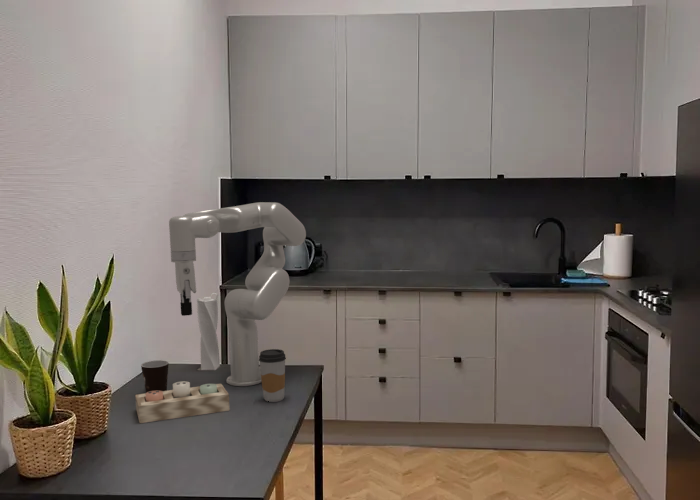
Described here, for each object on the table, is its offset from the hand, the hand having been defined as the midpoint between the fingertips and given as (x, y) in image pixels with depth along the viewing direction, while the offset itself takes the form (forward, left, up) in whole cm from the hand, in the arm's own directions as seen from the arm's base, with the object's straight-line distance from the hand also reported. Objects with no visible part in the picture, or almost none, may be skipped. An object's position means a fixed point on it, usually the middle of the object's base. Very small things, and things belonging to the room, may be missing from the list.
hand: (186, 314), depth 230 cm
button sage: (-4, +10, -26) cm, 28 cm away
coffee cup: (-24, +11, -27) cm, 38 cm away
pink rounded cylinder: (+12, +10, -26) cm, 30 cm away
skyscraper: (-12, -34, -28) cm, 45 cm away
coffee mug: (+9, -12, -27) cm, 31 cm away
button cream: (+4, +10, -24) cm, 26 cm away
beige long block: (+4, +10, -27) cm, 29 cm away
